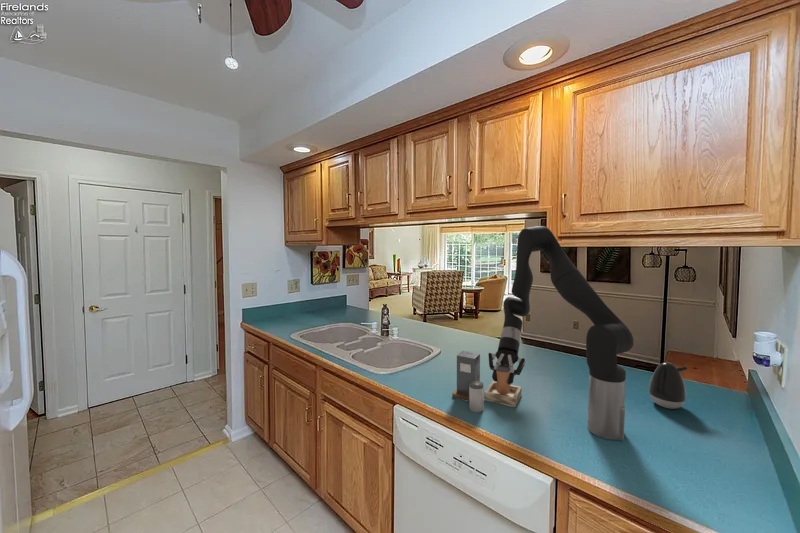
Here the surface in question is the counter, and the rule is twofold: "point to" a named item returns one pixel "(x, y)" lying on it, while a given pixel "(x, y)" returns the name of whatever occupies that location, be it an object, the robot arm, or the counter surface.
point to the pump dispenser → (668, 386)
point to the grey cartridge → (476, 396)
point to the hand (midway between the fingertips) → (502, 382)
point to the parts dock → (503, 395)
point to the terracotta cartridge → (503, 379)
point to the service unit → (466, 373)
